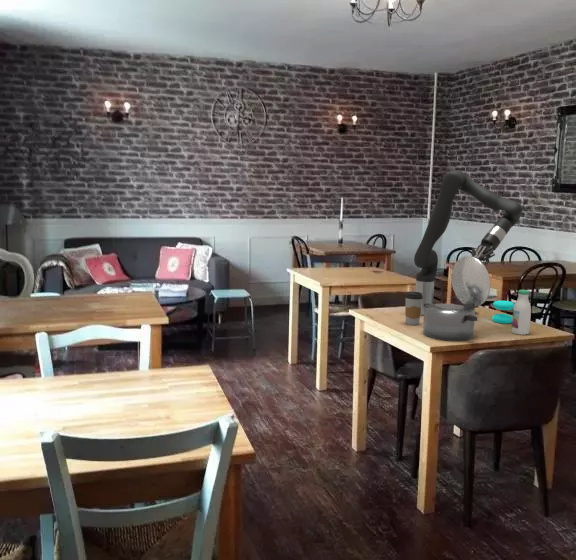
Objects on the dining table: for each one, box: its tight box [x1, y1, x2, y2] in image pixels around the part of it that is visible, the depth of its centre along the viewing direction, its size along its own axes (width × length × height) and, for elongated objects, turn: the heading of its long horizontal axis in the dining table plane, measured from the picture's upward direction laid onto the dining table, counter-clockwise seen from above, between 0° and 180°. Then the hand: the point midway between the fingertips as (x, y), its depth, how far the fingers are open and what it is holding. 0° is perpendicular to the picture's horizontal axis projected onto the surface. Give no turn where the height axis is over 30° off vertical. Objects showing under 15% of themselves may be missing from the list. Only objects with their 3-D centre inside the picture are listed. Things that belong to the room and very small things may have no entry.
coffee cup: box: [404, 291, 423, 326], centre depth 310 cm, size 8×8×15 cm
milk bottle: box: [511, 289, 532, 336], centre depth 297 cm, size 8×8×20 cm
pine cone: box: [450, 295, 480, 309], centre depth 341 cm, size 18×10×10 cm, turn 34°
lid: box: [451, 255, 491, 310], centre depth 294 cm, size 23×24×3 cm
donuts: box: [491, 300, 515, 325], centre depth 320 cm, size 10×10×10 cm
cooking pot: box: [422, 303, 479, 342], centre depth 291 cm, size 31×22×12 cm
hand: (472, 265), depth 293 cm, fingers closed
